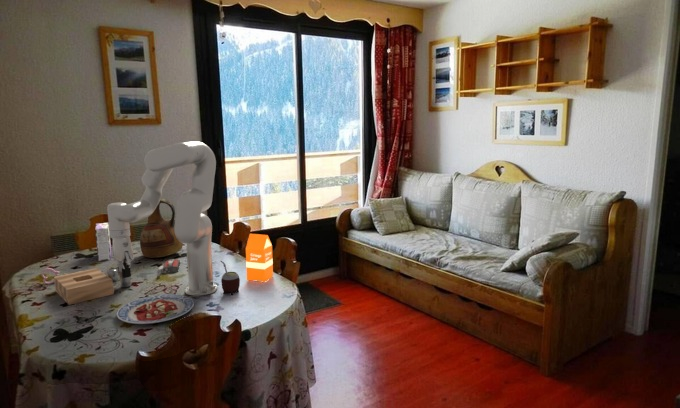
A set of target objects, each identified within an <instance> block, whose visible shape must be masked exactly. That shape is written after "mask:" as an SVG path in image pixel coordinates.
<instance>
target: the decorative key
mask: <svg viewBox="0 0 680 408" xmlns="http://www.w3.org/2000/svg"><path fill="white" fill-rule="evenodd" d="M46 271H50V272H53V273H54V274H55V277H56V276H61V275H62V274H60V270H59V271H58V270H56V269H53V268H52V267H47V268H44V269H43V270H42V271H41V277H42V278H43V284H45V285H51V284H53V283H55V282H54V279H53V280H52V281H46V279H48V276H45V275H44V272H46ZM77 272H81V271H80V270H78V271H77ZM66 274H67V273H66V272H64V274H63V275H66Z"/></svg>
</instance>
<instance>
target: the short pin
mask: <svg viewBox="0 0 680 408" xmlns="http://www.w3.org/2000/svg"><path fill="white" fill-rule="evenodd" d="M107 276H108V277H110V278H111V279H112V280H113V284H114V283H118V282H120V277H119V274H118V268H110V269H107Z"/></svg>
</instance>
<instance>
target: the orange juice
mask: <svg viewBox="0 0 680 408" xmlns="http://www.w3.org/2000/svg"><path fill="white" fill-rule="evenodd" d="M273 260H274V259H273V245H272V242H271V240H270V237H269V235H268V234H259V233H249V235H248V239H247V242H246V247H245V264H246V265H245V266H246V267H245V268H246V281H247V280H257V281H263V282H265V281H267V280H268V279H270V278H271V277H272V276H273V277H274V265H273V264H274V261H273ZM271 279H272V278H271ZM271 279H270V280H271ZM268 281H269V280H268ZM268 281H267V282H268Z"/></svg>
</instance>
